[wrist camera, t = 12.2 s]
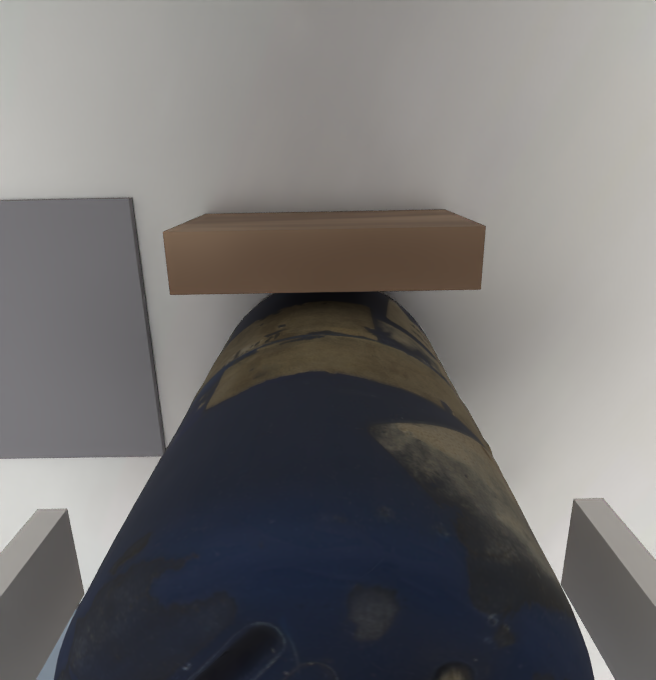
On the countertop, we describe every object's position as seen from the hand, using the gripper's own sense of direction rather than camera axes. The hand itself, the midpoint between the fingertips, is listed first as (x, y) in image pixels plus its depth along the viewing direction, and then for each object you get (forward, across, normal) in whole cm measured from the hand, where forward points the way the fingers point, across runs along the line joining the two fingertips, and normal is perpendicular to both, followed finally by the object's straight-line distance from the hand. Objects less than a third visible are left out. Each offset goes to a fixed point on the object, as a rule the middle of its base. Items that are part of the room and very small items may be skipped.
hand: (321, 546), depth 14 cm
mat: (+11, -14, +2) cm, 18 cm away
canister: (+11, 0, 0) cm, 11 cm away
